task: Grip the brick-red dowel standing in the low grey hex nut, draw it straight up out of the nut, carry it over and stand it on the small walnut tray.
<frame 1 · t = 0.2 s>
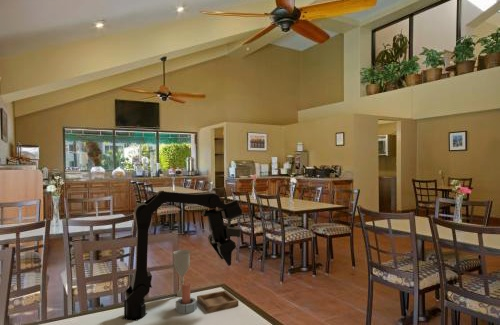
hand: (226, 262, 133), 15 cm above the table, tool pointing down, fingers open, 9 cm apart
dowel: (186, 309, 124), point 1 cm above the table, touching grey hex nut
tray: (217, 304, 129), on the table
chalice: (182, 296, 138), on the table
grey hex nut: (186, 310, 124), on the table
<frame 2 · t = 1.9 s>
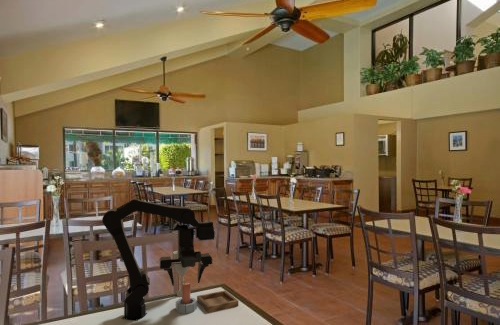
hand: (185, 284, 124), 10 cm above the table, tool pointing down, fingers open, 9 cm apart
nothing on the table moved.
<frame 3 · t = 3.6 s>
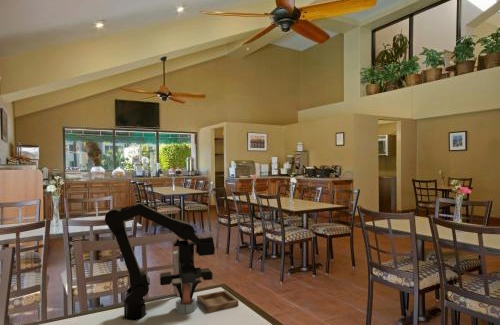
hand: (186, 299, 124), 4 cm above the table, tool pointing down, fingers closed on dowel, 3 cm apart
dowel: (186, 309, 124), point 1 cm above the table, touching grey hex nut, gripper
everything else where it was.
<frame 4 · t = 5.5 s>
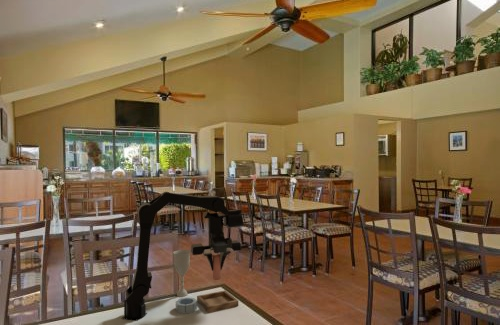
hand: (216, 269, 129), 13 cm above the table, tool pointing down, fingers closed on dowel, 3 cm apart
dowel: (216, 278, 129), point 10 cm above the table, touching gripper
everything else where it was.
when the fingers open (5 cm above the table, at t = 7.6 s): dowel stays where it is, resting on tray.
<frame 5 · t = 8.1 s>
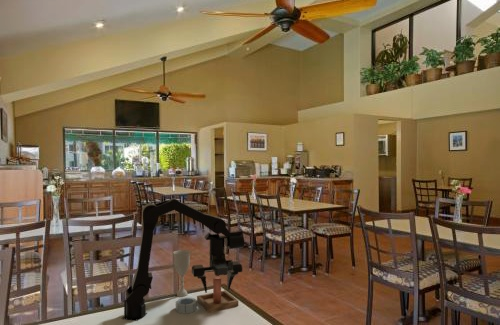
hand: (217, 291, 129), 5 cm above the table, tool pointing down, fingers open, 8 cm apart
dowel: (217, 302, 129), point 1 cm above the table, touching tray
everything else where it was.
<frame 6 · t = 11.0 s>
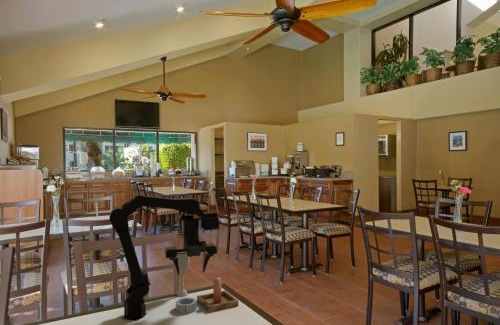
hand: (191, 273, 126), 13 cm above the table, tool pointing down, fingers open, 9 cm apart
nothing on the table moved.
at the end: dowel inside the target area on the tray (0.0 cm from its centre), point 1.0 cm above the tray's base; dowel tilted 0°; the gripper is holding nothing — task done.
